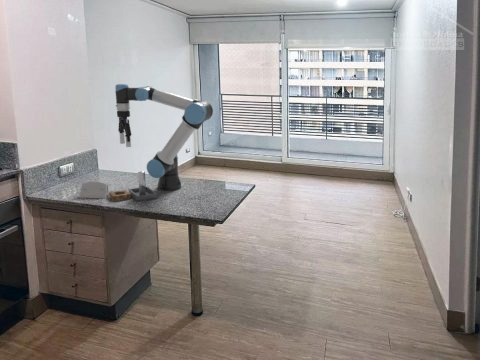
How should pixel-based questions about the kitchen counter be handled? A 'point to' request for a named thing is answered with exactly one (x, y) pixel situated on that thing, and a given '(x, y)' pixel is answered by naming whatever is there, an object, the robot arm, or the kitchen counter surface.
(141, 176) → the pin
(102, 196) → the grey upright slab
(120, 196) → the holder
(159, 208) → the kitchen counter surface
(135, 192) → the tray
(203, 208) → the kitchen counter surface
